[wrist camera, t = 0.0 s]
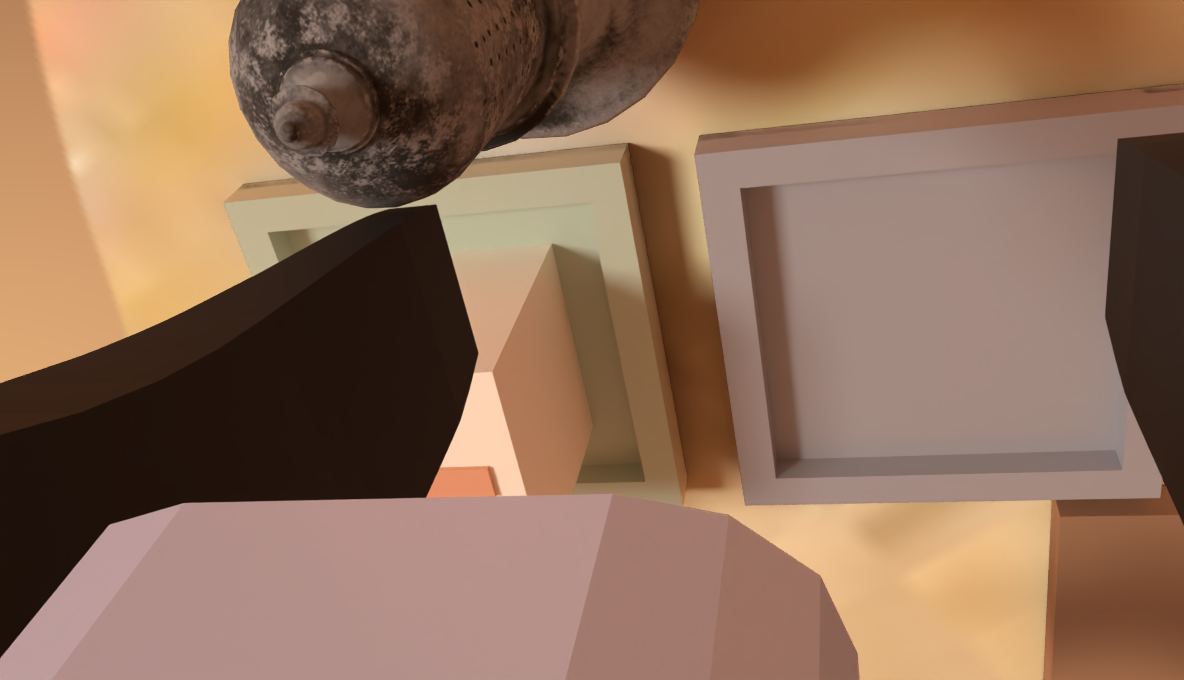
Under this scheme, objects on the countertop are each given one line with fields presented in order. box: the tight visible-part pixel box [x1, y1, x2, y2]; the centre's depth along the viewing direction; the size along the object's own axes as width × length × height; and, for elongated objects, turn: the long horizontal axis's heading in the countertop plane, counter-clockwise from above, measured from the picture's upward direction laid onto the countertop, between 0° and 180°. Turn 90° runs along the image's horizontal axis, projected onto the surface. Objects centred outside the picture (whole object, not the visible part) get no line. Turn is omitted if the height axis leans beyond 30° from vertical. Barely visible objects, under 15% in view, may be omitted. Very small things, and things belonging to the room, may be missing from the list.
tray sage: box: [223, 143, 687, 507], centre depth 25 cm, size 9×9×1 cm
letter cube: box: [426, 243, 593, 498], centre depth 23 cm, size 5×5×5 cm
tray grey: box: [694, 84, 1184, 505], centre depth 22 cm, size 9×9×1 cm
